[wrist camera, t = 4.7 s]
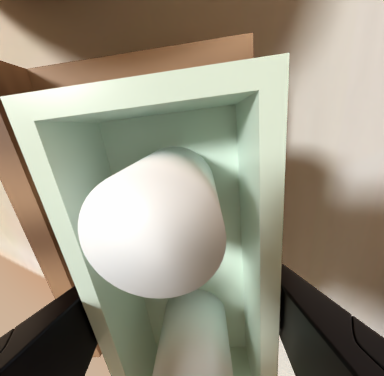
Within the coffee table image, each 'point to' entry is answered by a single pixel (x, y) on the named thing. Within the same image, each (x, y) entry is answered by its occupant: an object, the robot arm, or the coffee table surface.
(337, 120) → the coffee table surface
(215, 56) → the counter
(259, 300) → the tray
